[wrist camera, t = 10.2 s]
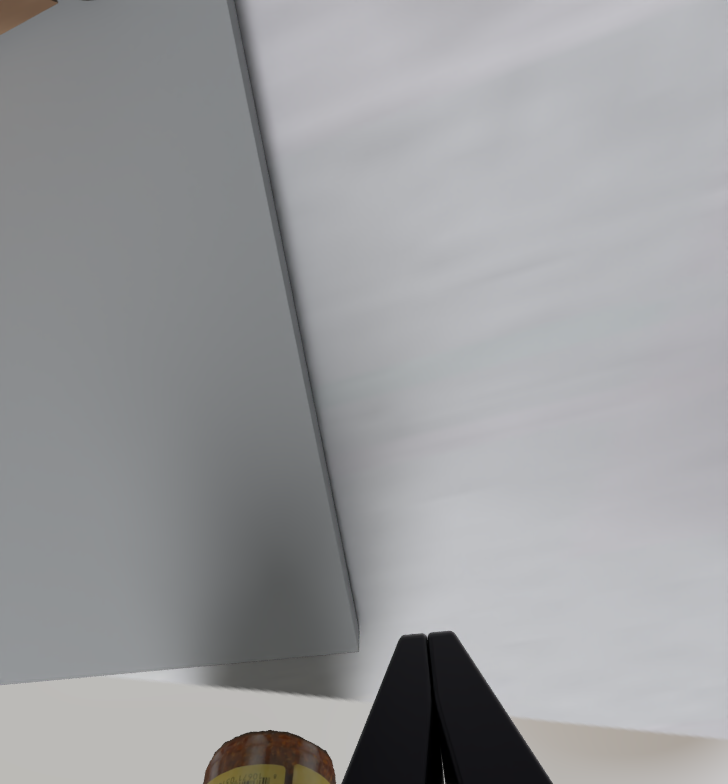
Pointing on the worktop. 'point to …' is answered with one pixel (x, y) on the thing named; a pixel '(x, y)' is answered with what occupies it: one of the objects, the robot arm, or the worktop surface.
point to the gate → (21, 11)
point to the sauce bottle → (270, 761)
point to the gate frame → (151, 360)
